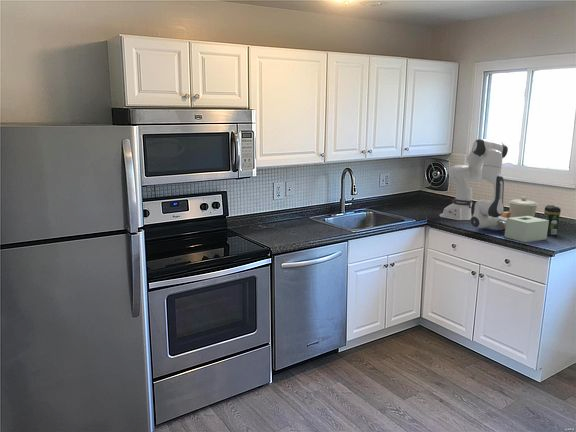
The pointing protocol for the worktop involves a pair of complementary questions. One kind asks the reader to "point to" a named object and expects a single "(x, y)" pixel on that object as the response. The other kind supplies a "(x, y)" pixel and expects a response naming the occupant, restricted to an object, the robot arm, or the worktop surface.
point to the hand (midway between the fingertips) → (506, 218)
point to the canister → (522, 207)
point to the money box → (526, 228)
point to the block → (506, 215)
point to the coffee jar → (552, 218)
